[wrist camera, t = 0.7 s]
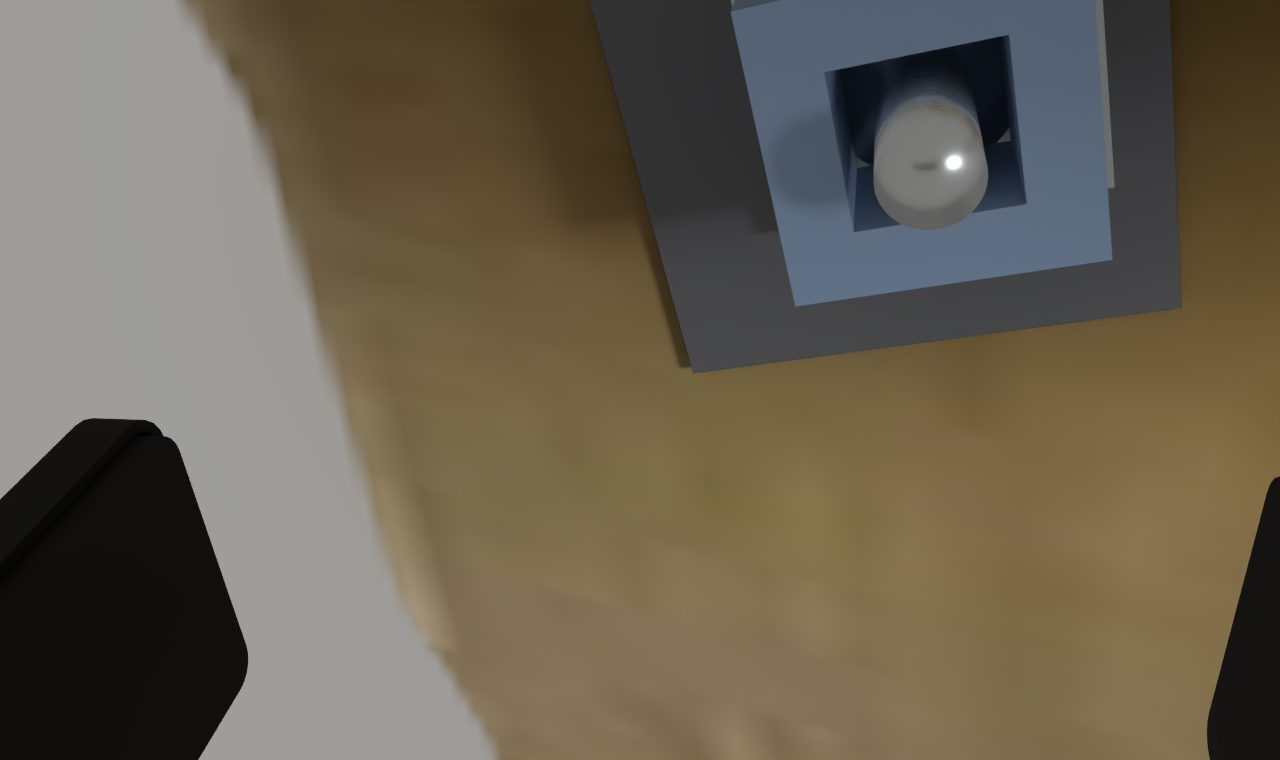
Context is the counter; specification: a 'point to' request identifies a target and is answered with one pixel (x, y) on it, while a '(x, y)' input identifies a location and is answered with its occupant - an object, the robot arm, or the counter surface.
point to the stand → (938, 127)
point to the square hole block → (1017, 169)
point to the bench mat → (746, 223)
